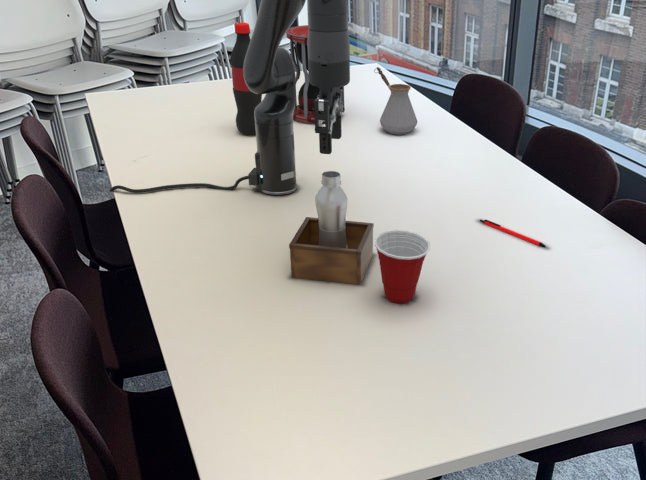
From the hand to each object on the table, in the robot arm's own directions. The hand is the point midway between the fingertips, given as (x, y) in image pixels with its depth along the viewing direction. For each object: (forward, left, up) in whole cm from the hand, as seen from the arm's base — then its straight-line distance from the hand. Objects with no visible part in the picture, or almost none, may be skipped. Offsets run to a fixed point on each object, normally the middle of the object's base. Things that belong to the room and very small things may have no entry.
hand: (330, 145), depth 146 cm
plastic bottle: (0, 0, -26) cm, 26 cm away
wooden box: (0, 0, -26) cm, 26 cm away
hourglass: (-28, +98, -26) cm, 105 cm away
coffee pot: (-3, +94, -26) cm, 98 cm away
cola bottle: (-43, +78, -26) cm, 93 cm away
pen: (+37, +24, -26) cm, 51 cm away
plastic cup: (+16, -10, -26) cm, 32 cm away
